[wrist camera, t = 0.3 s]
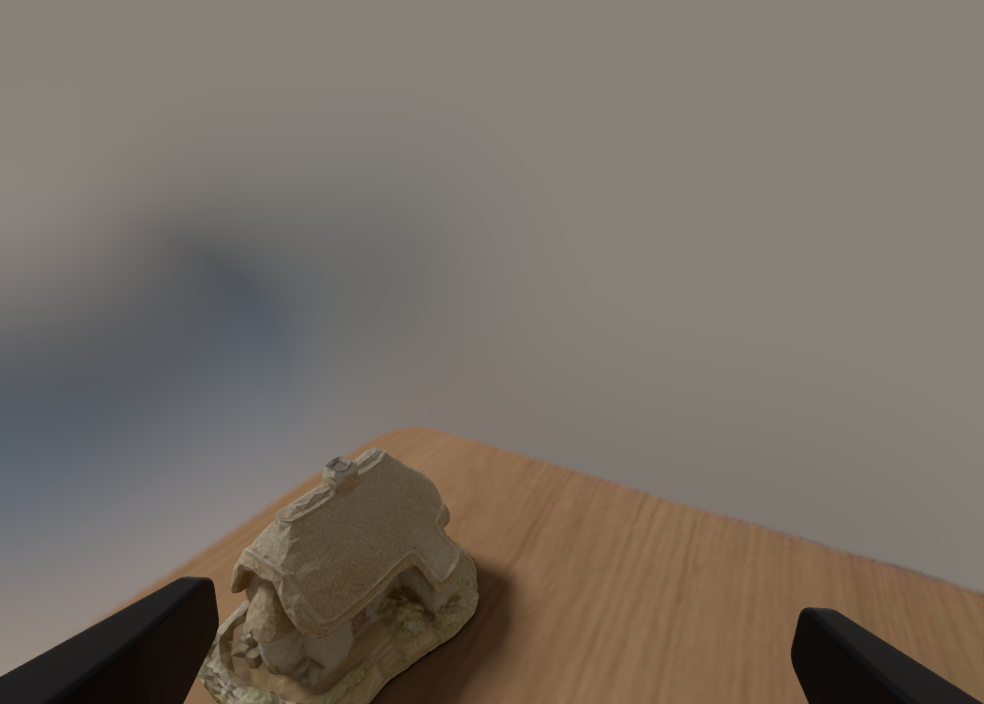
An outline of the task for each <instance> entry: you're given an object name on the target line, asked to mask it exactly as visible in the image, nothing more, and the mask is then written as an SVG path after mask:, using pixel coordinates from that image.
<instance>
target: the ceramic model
mask: <svg viewBox="0 0 984 704" xmlns="http://www.w3.org/2000/svg"><path fill="white" fill-rule="evenodd" d="M449 520H450V513H449V511H448V508H447V507H446V505H445V504H444V502H443V500H442V498H441V496H440V494H439V492H438V491H437V489H436V487H435V486H434V484H433V483H432V482H431V480H430V479H429V478H428V477H427V476H426V475H425V474H424V473H423V472H421V471H419V470H417V469H415V468H413V467H411V466H408V465H405V464H403V463H401V462H400V461H398V460H396V459H394V458H392V457H391V456H389V455H388V454H387V453H386V451H385V450H383V449H380V448H377V447H374V448H372V449H370V450H367V451H365V452H364V453H363V454H362V455H361V456H360V457H358V458H357V459H356V460H355V461H354V462H352V461H349V460H347V459H345V458H342V457H337V458H335V459H333V460H332V461H331V462H329V463H328V464H327V465H325V466H324V470H323V480H322V484H321V485H320V486H318V487H317V488H315V489H313V490H312V491H310V492H308V493H307V494H305V495H304V496H302V497H300V498H299V499H297V500H296V501H294V502H293V503H291V504H290V505H288V506H286V507H285V508H283V509H282V510H280V511H279V512H277V513H275V520H274V521H273V522H272V523H271V524H270V525H269V526H268V527H267V528H266V529H265V530H264V531H263V532H262V533H261V534H260V535H259V536H258V537H257V538H256V540H255V541H254V542H253V544H252V545H250V546H249V547H247V548H245V549H244V550H243V552H242V555H241V557H240V559H239V560H238V562H237V564H236V565H235V566H234V572H233V574H232V576H231V580H230V584H229V585H230V589H231V592H232V593H239V592H242V591H243V590H244V589H245V591H246V596H247V599H248V600H246V601H245V602H243V603H242V604H241V605H240V606H239V608H238V609H237V610H236V611H235V612H234V613H233V614H232V615H231V616H230V617H229V618H228V619H227V620H226V621H225V622H224V623H223V624H222V626H221V627H220V628H219V629H218V631H217V635H216V637H215V640H214V642H213V644H212V646H211V648H210V650H209V652H208V654H207V656H206V658H205V660H204V662H203V664H202V666H201V668H200V671H199V673H198V676H199V678H200V680H201V682H202V684H203V686H204V687H205V688H206V689H207V690H208V691H209V693H210V694H211V696H212V697H213V698H214V700H215V701H216V702H217V703H219V704H369V703H370V702H371V701H372V700H373V699H374V697H375V696H376V695H377V694H378V692H379V691H380V690H381V689H382V688H383V686H384V685H385V684H386V683H387V682H388V681H389V680H390V679H392V678H393V677H395V676H396V675H397V674H399V673H401V672H403V671H404V670H406V669H407V668H408V667H409V666H410V665H411V664H413V663H414V662H416V661H417V660H418V659H420V658H421V657H422V656H424V655H425V654H427V653H428V652H430V651H432V650H433V649H435V648H436V647H437V646H439V645H440V644H442V643H444V642H446V641H447V640H449V639H450V638H452V637H453V636H454V635H455V634H456V633H458V632H459V630H460V629H461V628H462V627H463V625H464V624H465V623H467V621H468V620H469V619H470V618H471V617H472V615H473V614H474V613H475V610H476V607H477V605H478V599H479V594H478V590H477V589H478V585H477V580H476V578H477V571H476V567H475V563H474V561H473V559H472V558H471V557H470V555H469V553H468V551H467V550H466V549H465V548H463V547H462V546H461V545H460V544H459V543H457V542H455V541H453V540H451V539H450V538H449V537H448V536H447V535H446V533H445V531H444V529H443V528H444V527H445V526H446V525H447V524H448V523H449Z"/></svg>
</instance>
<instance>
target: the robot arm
mask: <svg viewBox="0 0 984 704" xmlns="http://www.w3.org/2000/svg"><path fill="white" fill-rule="evenodd" d="M218 627H219V617H218V609H217V602H216V595H215V587H214V583H213V581H212V580H211V579H210V578H207V577H191V576H187V577H182V578H179V579H177V580H175V581H174V582H172V583H170V584H168V585H166V586H164V587H163V588H161V589H159V590H157V591H155V592H154V593H152V594H150V595H148V596H146V597H145V598H143V599H141V600H139V601H137V602H135V603H134V604H132V605H130V606H128V607H126V608H125V609H123V610H121V611H119V612H117V613H115V614H114V615H112V616H110V617H108V618H106V619H105V620H103V621H101V622H99V623H97V624H95V625H94V626H92V627H90V628H88V629H86V630H85V631H83V632H81V633H79V634H77V635H75V636H74V637H72V638H70V639H68V640H66V641H65V642H63V643H61V644H59V645H57V646H55V647H54V648H52V649H50V650H48V651H46V652H45V653H43V654H41V655H39V656H37V657H36V658H34V659H32V660H30V661H28V662H26V663H25V664H23V665H21V666H19V667H17V668H15V669H14V670H12V671H10V672H8V673H6V674H5V675H3V676H1V677H0V704H183V703H184V701H185V699H186V697H187V695H188V693H189V691H190V689H191V687H192V685H193V683H194V681H195V679H196V677H197V675H198V673H199V671H200V668H201V666H202V664H203V662H204V660H205V658H206V656H207V654H208V652H209V650H210V648H211V646H212V644H213V642H214V640H215V637H216V635H217V631H218ZM791 660H792V664H793V668H794V671H795V673H796V675H797V678H798V680H799V682H800V685H801V687H802V689H803V691H804V694H805V696H806V698H807V701H808V703H809V704H983V703H982V702H980V701H978V700H977V699H975V698H974V697H972V696H970V695H969V694H967V693H966V692H964V691H963V690H961V689H959V688H958V687H956V686H955V685H953V684H952V683H950V682H948V681H947V680H945V679H944V678H942V677H940V676H939V675H937V674H936V673H934V672H933V671H931V670H929V669H928V668H926V667H925V666H923V665H921V664H920V663H918V662H917V661H915V660H914V659H912V658H910V657H909V656H907V655H906V654H904V653H902V652H901V651H899V650H898V649H896V648H895V647H893V646H891V645H890V644H888V643H887V642H885V641H884V640H882V639H880V638H879V637H877V636H876V635H874V634H872V633H871V632H869V631H868V630H866V629H865V628H863V627H861V626H860V625H858V624H857V623H855V622H853V621H852V620H850V619H849V618H847V617H846V616H844V615H842V614H841V613H839V612H838V611H836V610H833V609H829V608H812V607H808V608H804V609H803V610H802V611H801V612H800V615H799V618H798V623H797V627H796V631H795V635H794V639H793V644H792V648H791Z"/></svg>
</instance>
